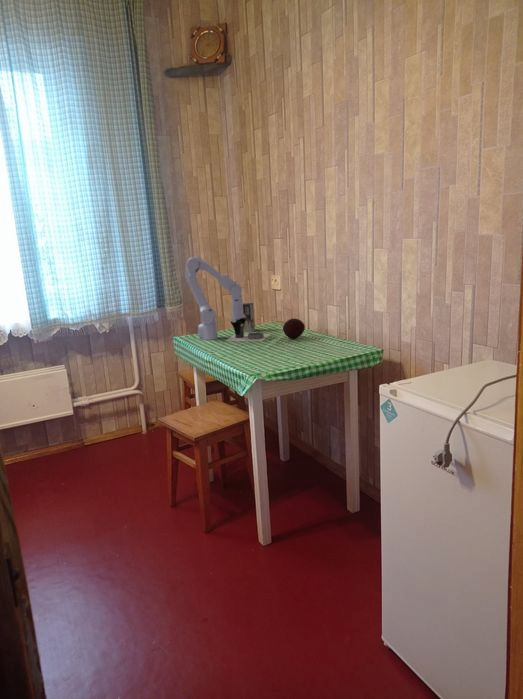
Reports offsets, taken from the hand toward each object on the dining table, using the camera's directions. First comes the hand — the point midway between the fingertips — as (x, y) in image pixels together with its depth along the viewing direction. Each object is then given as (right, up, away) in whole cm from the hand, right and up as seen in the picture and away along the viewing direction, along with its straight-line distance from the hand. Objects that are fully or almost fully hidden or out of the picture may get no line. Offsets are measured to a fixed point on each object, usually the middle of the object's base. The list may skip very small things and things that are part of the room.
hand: (239, 333), depth 269 cm
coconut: (+28, -3, -7) cm, 29 cm away
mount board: (+5, -3, -2) cm, 6 cm away
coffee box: (+3, +1, +17) cm, 17 cm away
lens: (0, -2, 0) cm, 2 cm away
